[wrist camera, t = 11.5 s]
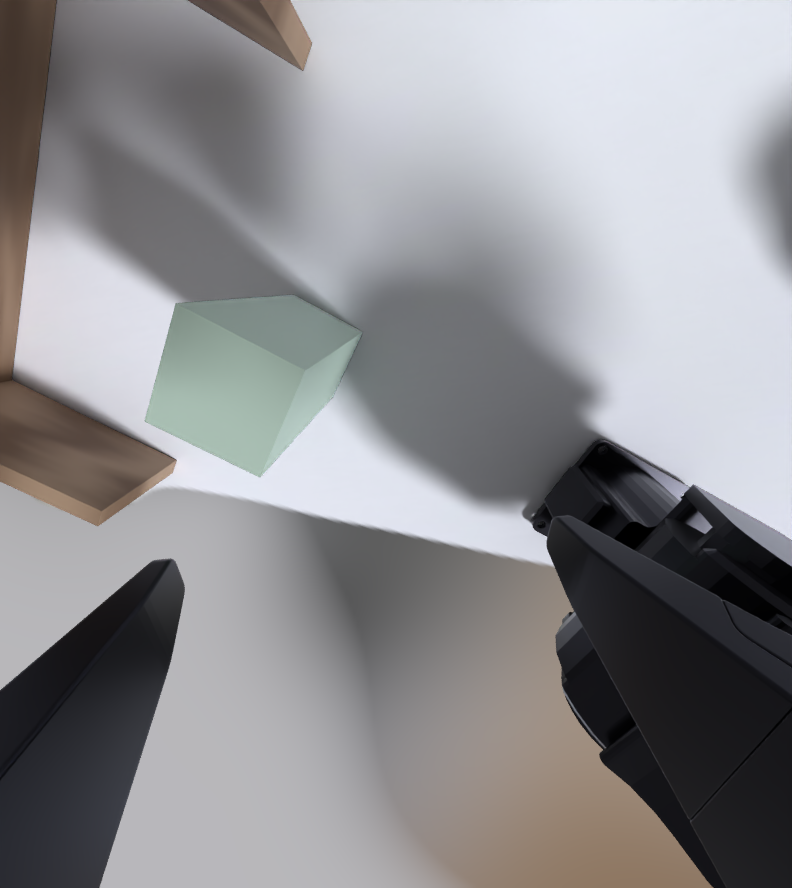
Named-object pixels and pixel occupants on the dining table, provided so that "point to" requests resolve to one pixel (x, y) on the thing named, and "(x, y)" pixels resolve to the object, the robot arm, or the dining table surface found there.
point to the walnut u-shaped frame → (3, 265)
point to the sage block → (248, 375)
